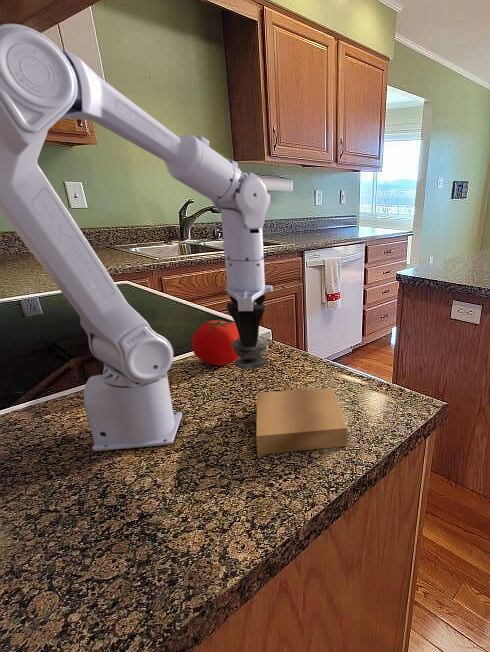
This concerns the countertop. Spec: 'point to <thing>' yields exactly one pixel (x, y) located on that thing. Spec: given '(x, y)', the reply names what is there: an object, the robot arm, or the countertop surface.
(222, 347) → the tomato
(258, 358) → the grey chess piece
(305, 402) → the block
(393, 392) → the countertop surface
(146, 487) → the countertop surface
